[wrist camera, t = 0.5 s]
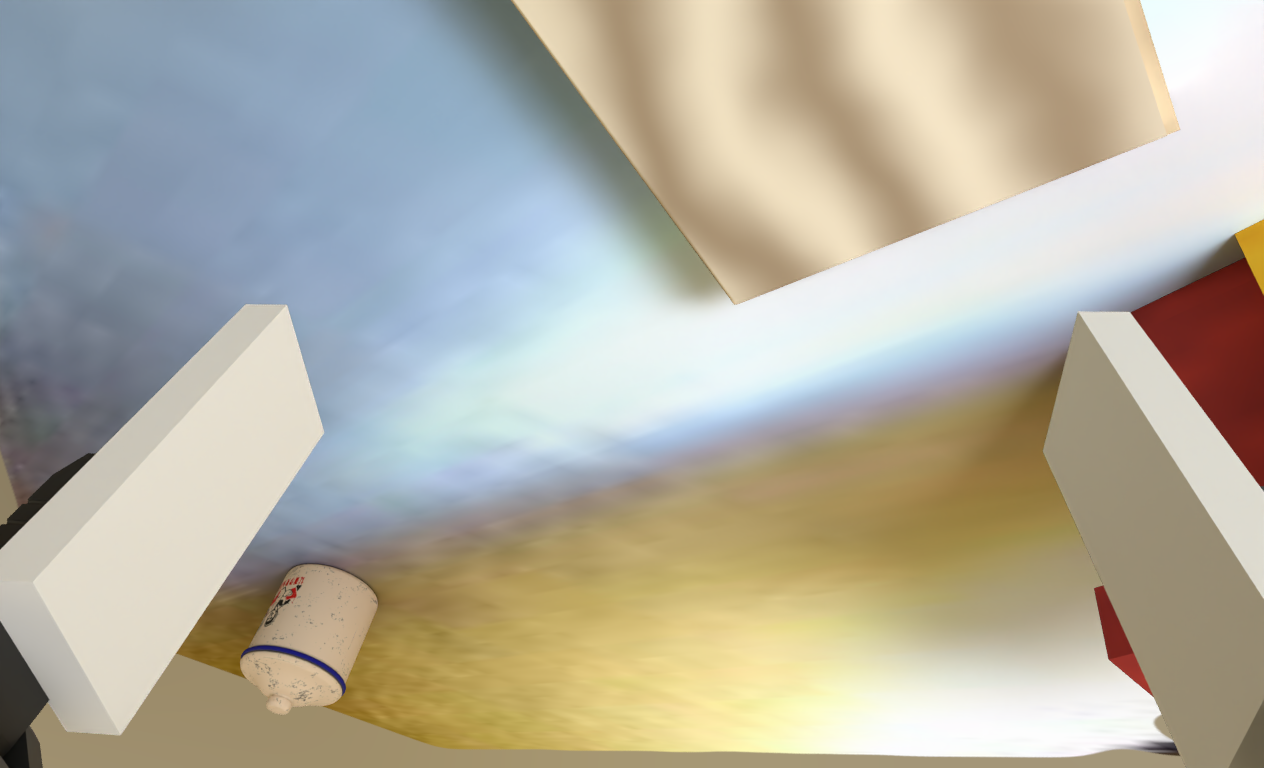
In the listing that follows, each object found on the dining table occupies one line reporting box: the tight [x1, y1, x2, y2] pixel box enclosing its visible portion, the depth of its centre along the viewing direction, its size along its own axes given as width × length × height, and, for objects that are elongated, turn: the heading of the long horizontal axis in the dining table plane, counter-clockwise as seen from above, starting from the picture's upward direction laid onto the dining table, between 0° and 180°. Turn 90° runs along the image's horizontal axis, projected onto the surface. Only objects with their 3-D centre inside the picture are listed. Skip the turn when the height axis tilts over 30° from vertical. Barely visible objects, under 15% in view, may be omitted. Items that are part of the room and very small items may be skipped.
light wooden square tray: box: [511, 0, 1180, 305], centre depth 35 cm, size 20×22×4 cm
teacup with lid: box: [240, 564, 378, 714], centre depth 79 cm, size 12×9×12 cm
